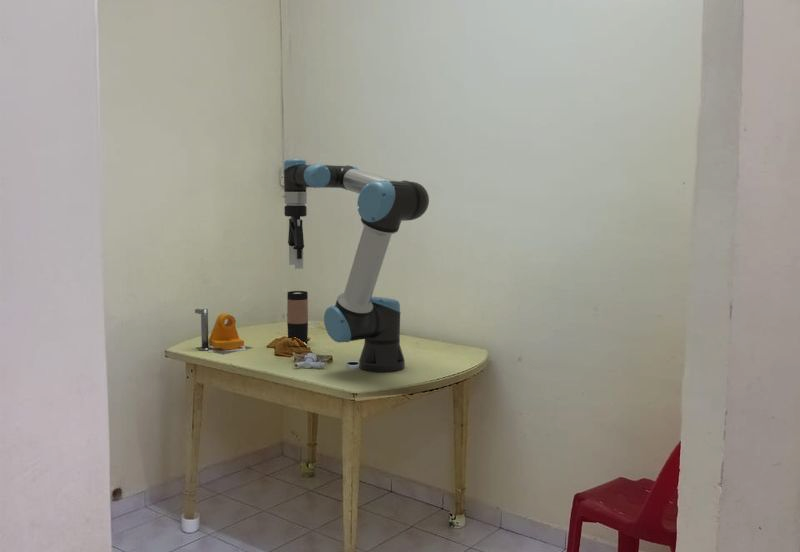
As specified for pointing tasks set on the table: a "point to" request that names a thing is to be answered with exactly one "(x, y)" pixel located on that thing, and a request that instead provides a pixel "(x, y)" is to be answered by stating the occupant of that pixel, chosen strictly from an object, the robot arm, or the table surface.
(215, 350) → the mat
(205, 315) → the grey smooth fixture
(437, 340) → the table surface
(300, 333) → the travel mug
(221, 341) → the bracket
